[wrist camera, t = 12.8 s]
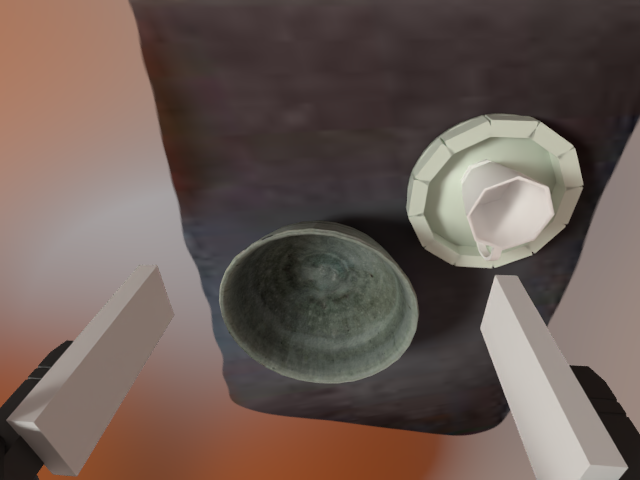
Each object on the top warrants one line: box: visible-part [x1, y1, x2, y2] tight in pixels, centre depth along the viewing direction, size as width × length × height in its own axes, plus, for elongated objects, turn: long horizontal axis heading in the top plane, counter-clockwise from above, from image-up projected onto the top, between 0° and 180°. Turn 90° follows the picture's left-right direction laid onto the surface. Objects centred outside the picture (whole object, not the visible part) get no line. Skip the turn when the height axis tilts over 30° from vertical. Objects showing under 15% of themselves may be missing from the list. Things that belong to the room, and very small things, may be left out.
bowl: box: [219, 220, 419, 383], centre depth 42 cm, size 21×21×10 cm
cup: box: [460, 159, 555, 261], centre depth 35 cm, size 7×10×8 cm
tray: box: [406, 113, 584, 268], centre depth 38 cm, size 16×16×3 cm
